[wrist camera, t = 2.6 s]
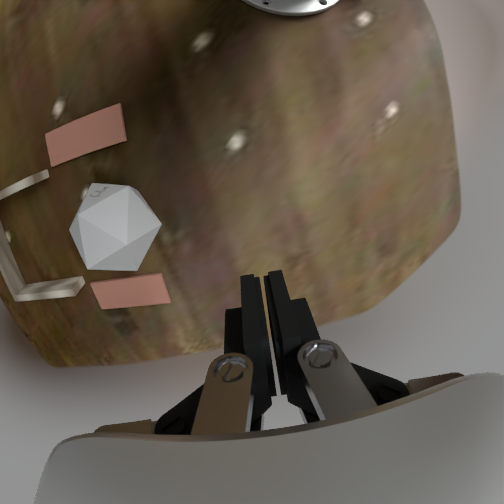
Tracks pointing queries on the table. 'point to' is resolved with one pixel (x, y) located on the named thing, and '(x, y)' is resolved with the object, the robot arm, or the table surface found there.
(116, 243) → the die
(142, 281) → the mat
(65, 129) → the mat
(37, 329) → the table surface
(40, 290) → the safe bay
